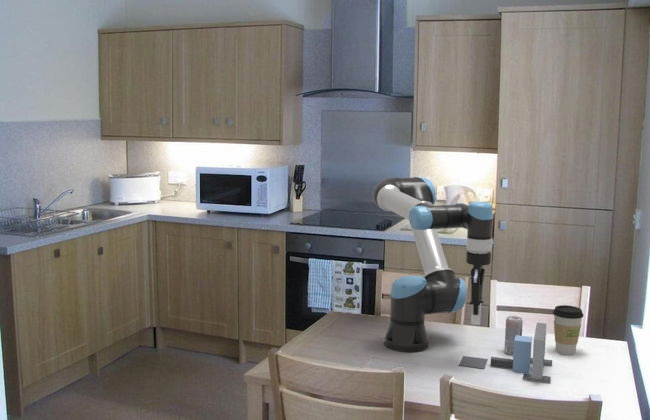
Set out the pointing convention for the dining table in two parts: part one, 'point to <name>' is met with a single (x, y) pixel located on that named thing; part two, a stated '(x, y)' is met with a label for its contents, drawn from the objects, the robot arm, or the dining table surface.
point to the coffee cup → (567, 328)
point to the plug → (516, 356)
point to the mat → (473, 362)
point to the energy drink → (512, 333)
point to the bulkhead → (539, 356)
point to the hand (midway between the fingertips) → (475, 323)
